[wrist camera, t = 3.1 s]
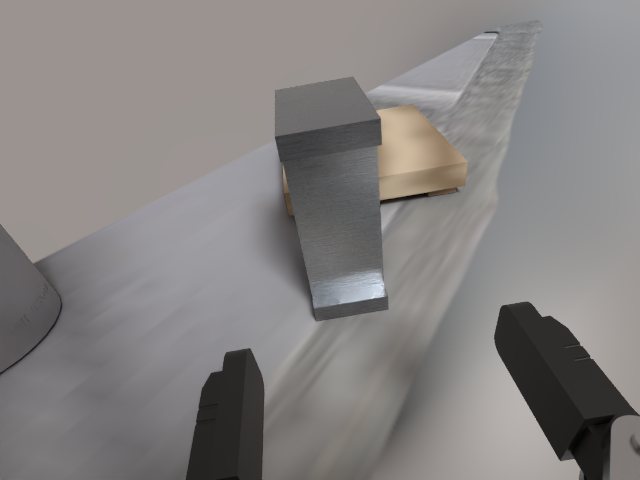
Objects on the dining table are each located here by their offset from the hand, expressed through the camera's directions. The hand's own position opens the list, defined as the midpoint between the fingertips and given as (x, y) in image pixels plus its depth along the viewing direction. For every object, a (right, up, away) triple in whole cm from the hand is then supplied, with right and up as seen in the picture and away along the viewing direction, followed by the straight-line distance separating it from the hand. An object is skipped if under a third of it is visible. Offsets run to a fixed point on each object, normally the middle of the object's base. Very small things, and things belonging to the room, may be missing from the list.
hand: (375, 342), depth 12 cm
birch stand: (+2, +10, +25) cm, 28 cm away
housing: (0, +1, +14) cm, 14 cm away
